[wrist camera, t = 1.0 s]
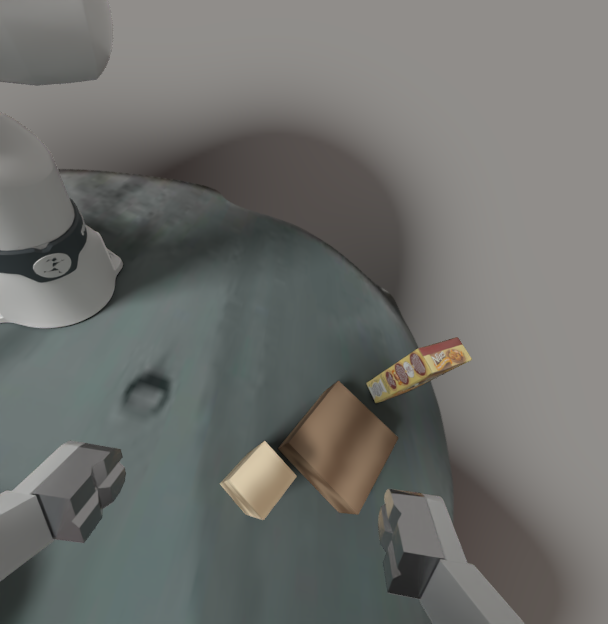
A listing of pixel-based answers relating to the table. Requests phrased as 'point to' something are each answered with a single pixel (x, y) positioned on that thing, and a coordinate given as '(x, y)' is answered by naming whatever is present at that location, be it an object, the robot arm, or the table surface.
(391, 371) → the candy box
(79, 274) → the robot arm
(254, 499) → the maple block
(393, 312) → the table surface
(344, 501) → the walnut block
